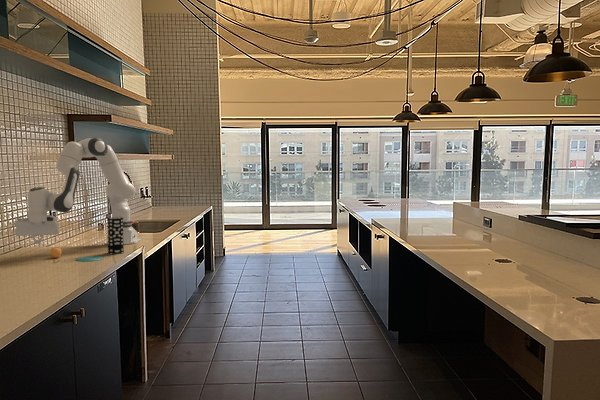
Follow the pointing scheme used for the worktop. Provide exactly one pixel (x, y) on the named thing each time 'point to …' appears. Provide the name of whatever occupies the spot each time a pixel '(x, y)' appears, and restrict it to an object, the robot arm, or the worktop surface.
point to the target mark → (89, 258)
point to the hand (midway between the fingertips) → (37, 243)
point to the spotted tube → (115, 235)
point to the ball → (55, 252)
